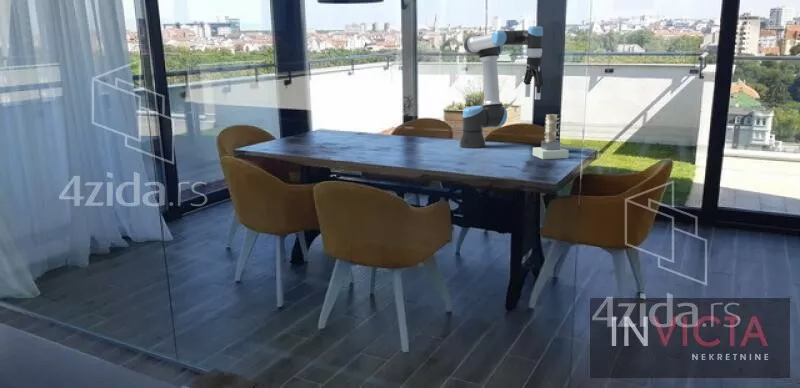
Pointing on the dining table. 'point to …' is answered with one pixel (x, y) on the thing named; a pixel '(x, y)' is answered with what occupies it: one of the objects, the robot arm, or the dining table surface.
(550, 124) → the rail post
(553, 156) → the mounting block
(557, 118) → the spotted tube
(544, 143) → the cup bracket
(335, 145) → the dining table surface
